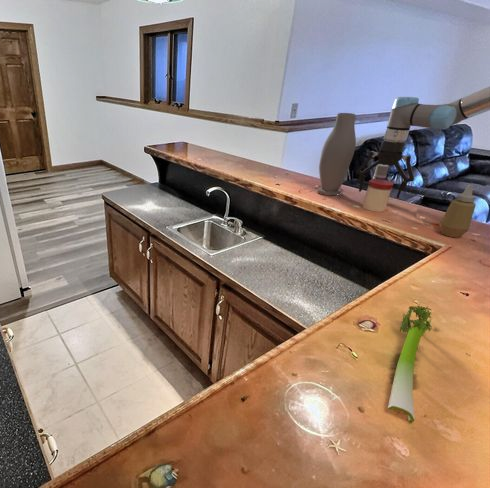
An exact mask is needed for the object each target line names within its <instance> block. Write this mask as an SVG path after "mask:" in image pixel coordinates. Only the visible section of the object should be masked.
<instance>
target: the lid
mask: <svg viewBox="0 0 490 488" xmlns="http://www.w3.org/2000/svg"><path fill="white" fill-rule="evenodd" d="M394 184H395V183H394V182H393V181H390V180H387V179H385V180H382V179H373V178H372V179H370V180H368V185H369V186H371V187H373V188H377V189H392V190H393V187H394Z"/></svg>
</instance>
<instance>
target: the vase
mask: <svg viewBox="0 0 490 488" xmlns="http://www.w3.org/2000/svg"><path fill="white" fill-rule="evenodd" d="M355 122H356V114H355V113H352V112H349V113H348V112H338V113H337V114H336V119H335V123H334V125H333V128H332V130H331V132H330V133H329V135H328V136H327V138H326V139H325V141H324V143H323V147H322V149H321V154H320V159H319V165H318V174H319V181H320V186H319V187H317V189H316V193H317V192H318V194H319V193H320V195H323V194H324V195H323V196H330V195H336V196H338V195H337V194H340V193H341V194H342V189H340V188H342V185H343V183H344V181H345V178H346V176H347V173H348V171H349V167H350V166H351V162H352V160H353V157H354V154H355V152H356V145H357V137H356V131H355V129H356V128H355V124H356V123H355ZM341 194H340V195H341Z"/></svg>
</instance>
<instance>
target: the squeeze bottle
mask: <svg viewBox="0 0 490 488" xmlns="http://www.w3.org/2000/svg"><path fill="white" fill-rule="evenodd" d="M473 191H474V184H469V183H468V185H467V186H466V188H465V190H464V191H463V192H462V193H461V192H460V193H457V196H456V198H454V199H452V200H451V201H450V204H449V206H448V207H447V209H446V211H445V212H444V215H443V217H442V218H441V220H440V224H439V225H440V227H439V229H440V231H439V232H440V234H442V235H444V236H446V237H450V238H454V239H455V238H461V237H462V236H464V235H465V234H466V232H467V231H468V230H469V229H470V227H471V222H472V219H473V215H474V213H475V209H476V205H477V204H476V203H475V199H476V196H475V195H474V194H473Z"/></svg>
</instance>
